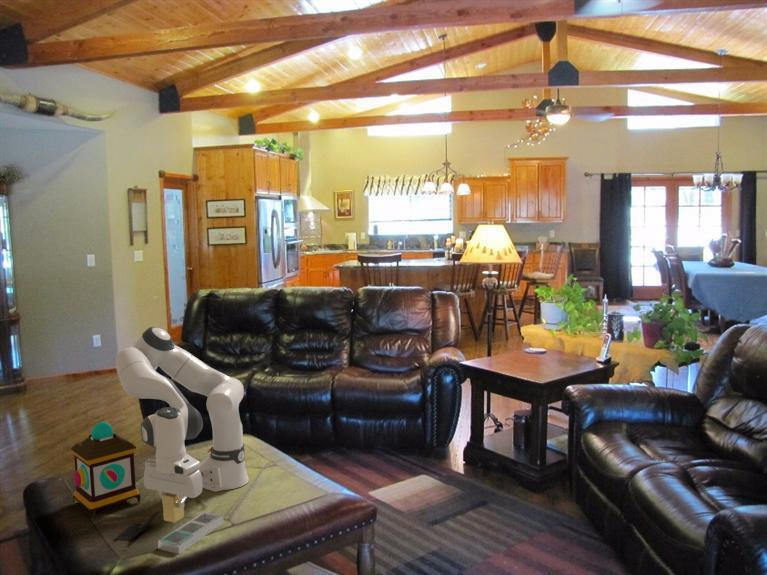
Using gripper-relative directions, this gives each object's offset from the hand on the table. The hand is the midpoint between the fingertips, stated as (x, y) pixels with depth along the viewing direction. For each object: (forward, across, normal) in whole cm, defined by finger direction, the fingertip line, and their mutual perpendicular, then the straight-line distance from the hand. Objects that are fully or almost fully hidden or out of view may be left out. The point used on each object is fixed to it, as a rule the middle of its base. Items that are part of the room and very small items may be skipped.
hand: (173, 505), depth 189 cm
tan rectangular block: (+4, 0, 0) cm, 4 cm away
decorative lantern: (+14, -45, +14) cm, 49 cm away
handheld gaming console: (+14, -18, +2) cm, 22 cm away
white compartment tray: (+13, 0, +7) cm, 15 cm away
